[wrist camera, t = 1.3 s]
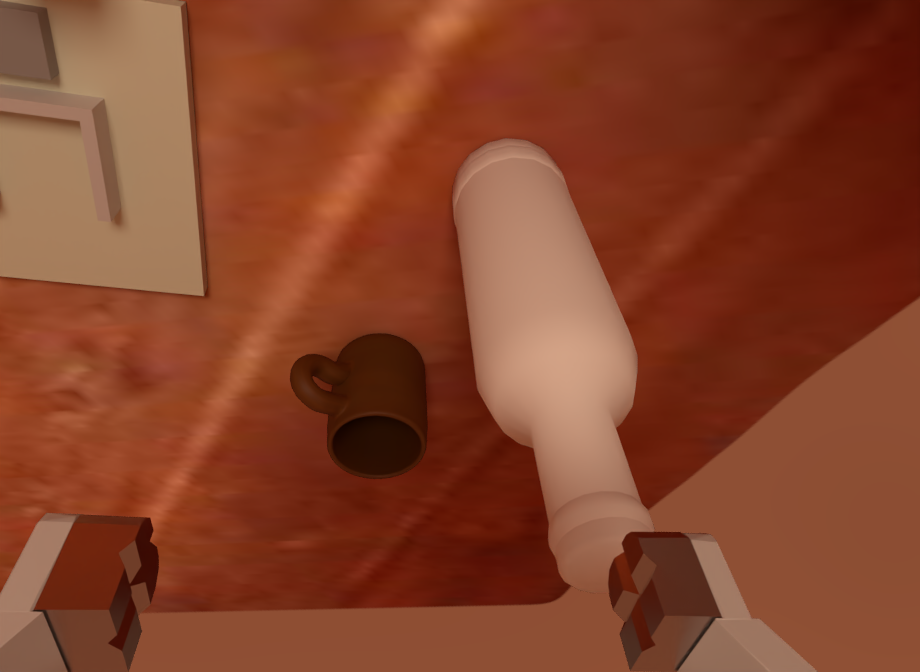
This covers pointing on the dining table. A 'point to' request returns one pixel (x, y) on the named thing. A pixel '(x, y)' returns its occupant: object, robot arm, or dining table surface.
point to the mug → (369, 404)
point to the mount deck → (99, 145)
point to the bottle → (550, 349)
